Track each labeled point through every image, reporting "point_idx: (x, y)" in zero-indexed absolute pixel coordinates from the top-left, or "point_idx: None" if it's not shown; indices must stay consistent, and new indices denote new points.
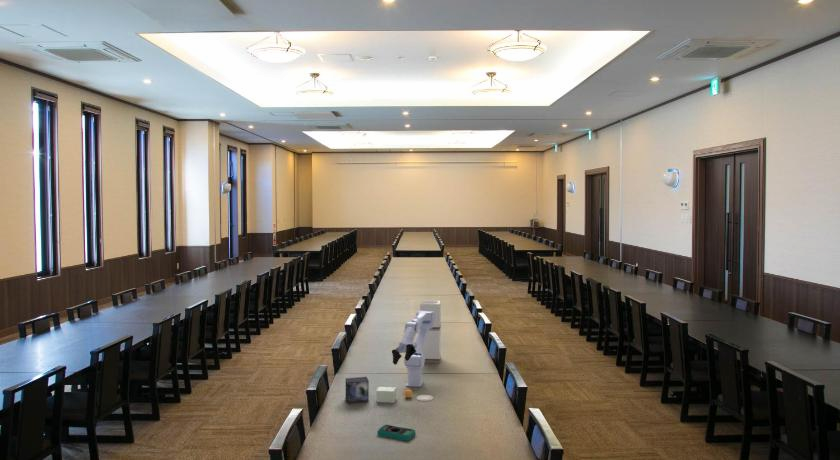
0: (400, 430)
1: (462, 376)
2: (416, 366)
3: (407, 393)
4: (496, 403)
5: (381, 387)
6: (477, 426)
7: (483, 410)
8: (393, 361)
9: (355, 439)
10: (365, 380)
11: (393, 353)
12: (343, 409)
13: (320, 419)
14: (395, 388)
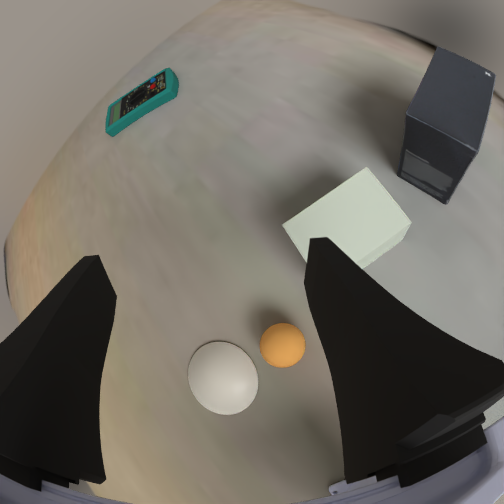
0: (127, 104)
1: None
2: None
3: (271, 327)
4: None
5: (390, 223)
6: (43, 268)
7: None
8: (317, 240)
9: (201, 39)
10: (418, 103)
11: (426, 342)
12: (383, 75)
13: (353, 20)
14: None
